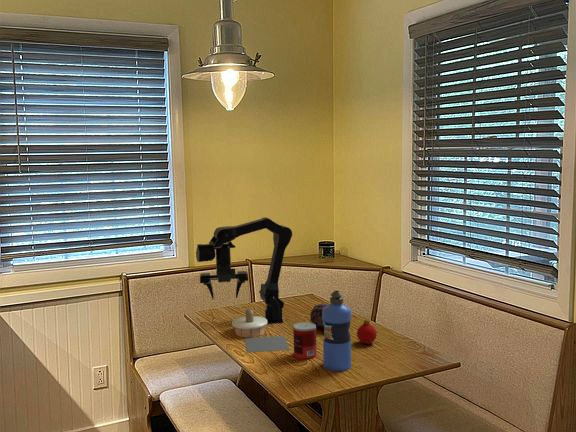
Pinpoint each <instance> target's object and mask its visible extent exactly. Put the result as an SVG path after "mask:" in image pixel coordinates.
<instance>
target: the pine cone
mask: <svg viewBox="0 0 576 432" xmlns="http://www.w3.org/2000/svg"><path fill="white" fill-rule="evenodd" d="M329 305H330V304H327V303H318V304H315V305H314V306H313V308H312V309H311V311H310V313H309V316H310V319H309V321H310V323H313V324H315V325H316V327H317V326H318V327H319V328H320V329H321V328H324V324H323V319H322V309H323V308H324V307H327V306H329Z"/></svg>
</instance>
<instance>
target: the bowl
mask: <svg viewBox="0 0 576 432" xmlns="http://www.w3.org/2000/svg"><path fill="white" fill-rule="evenodd" d="M265 326H266V325H265ZM265 326H264V327H261V328H256V329H239V328H236V327H234V333H235V335H236V336H238V337H239V338H256V337H261V336H262V335H264V334H265V332H266V328H265Z"/></svg>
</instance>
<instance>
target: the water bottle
mask: <svg viewBox="0 0 576 432" xmlns="http://www.w3.org/2000/svg"><path fill="white" fill-rule="evenodd" d="M330 296H331V297H329V303H330V304H328V305H329V306H327V307H324V308H323V309H322V319H323V324H324V327H323V329H324V330H323V331H324V332H323V340H322V341H323V342H322V343H323V351H322V353H323V355H322V356H323V368H324V369H326V370H328V371H331V372H345V371H348V370H349V369H351V368H352V338H351V333H350V330H351V321H352V308H351V307H349V306H347V305H345V304H343V303H344V297H343V293H341V291H339V290H333V291H332V293H331V294H330Z"/></svg>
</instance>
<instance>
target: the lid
mask: <svg viewBox="0 0 576 432" xmlns="http://www.w3.org/2000/svg"><path fill="white" fill-rule="evenodd" d="M244 311H245V313H244V314H245V316H241V317H237V318H235V319H233V320H232V322H231V327H232V326H233V327H234V328H235V327H236V328H239V329H256V328H261V327H264V326H267V324H268V323H267V319H265V317H263V316H259V315H258V316H255V315H254V309H253V308H247V309H245V310H244Z"/></svg>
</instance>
